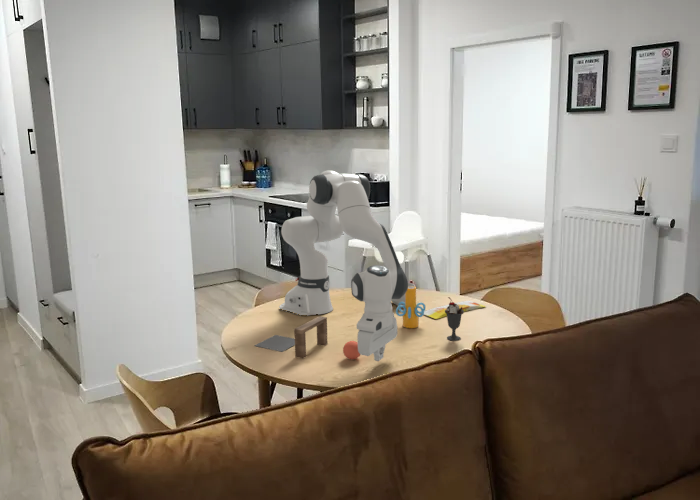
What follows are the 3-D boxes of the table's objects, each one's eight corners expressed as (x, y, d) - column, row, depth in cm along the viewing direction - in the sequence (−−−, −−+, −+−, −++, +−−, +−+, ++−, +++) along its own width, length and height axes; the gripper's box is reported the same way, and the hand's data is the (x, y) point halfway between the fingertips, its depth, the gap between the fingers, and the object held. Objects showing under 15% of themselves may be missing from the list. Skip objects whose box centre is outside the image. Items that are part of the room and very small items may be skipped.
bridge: (295, 356, 206) (294, 329, 203) (320, 342, 218) (319, 316, 216) (302, 358, 204) (301, 330, 202) (327, 343, 217) (326, 317, 215)
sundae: (442, 335, 223) (442, 295, 219) (460, 334, 223) (461, 294, 220) (446, 342, 216) (447, 300, 213) (465, 341, 217) (466, 299, 213)
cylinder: (423, 332, 226) (423, 292, 223) (394, 330, 229) (394, 291, 225) (426, 321, 238) (426, 283, 235) (398, 320, 240) (398, 282, 237)
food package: (435, 316, 239) (418, 309, 247) (435, 321, 240) (418, 315, 248) (486, 303, 254) (469, 298, 262) (486, 309, 254) (469, 303, 262)
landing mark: (254, 345, 216) (254, 345, 216) (275, 335, 226) (275, 334, 226) (282, 352, 210) (282, 351, 210) (302, 340, 220) (302, 340, 220)
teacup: (416, 307, 255) (416, 288, 254) (389, 308, 256) (389, 289, 254) (413, 297, 269) (413, 279, 267) (388, 298, 269) (388, 280, 268)
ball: (339, 360, 202) (339, 342, 201) (349, 354, 207) (348, 337, 206) (355, 363, 199) (355, 346, 198) (364, 357, 204) (364, 340, 203)
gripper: (384, 307, 205) (385, 347, 208) (353, 325, 188) (354, 368, 191) (402, 310, 202) (402, 350, 205) (371, 329, 185) (372, 372, 188)
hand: (378, 359), depth 198 cm, fingers closed
